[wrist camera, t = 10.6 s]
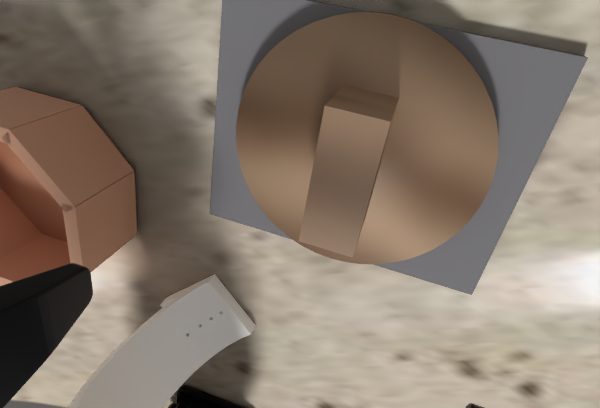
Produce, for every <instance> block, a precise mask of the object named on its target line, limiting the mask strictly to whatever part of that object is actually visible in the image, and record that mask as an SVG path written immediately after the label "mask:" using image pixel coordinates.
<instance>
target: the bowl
mask: <svg viewBox="0 0 600 408" xmlns="http://www.w3.org/2000/svg"><path fill="white" fill-rule="evenodd" d="M135 235H137V219H136V196H135V174H134V170H133V169H132V167H131V166H130V165H129V164H128V162H127V161H126V160H125V159H124V157H123V156H122V155H121V154H120V152H119V150H118V149H117V147H116V146H115V145H114V143H113V142H112V140H111V139H110V138H109V137H108V136H107V134H106V133H105V132H104V131H103V130H102V129H101V128H100V127H99V126H98V125H97V123H96V122H95V121H94V120H93V118H92V117H91V116H90V115H89V113H88V112H87V111H86V110H85V108H84V107H83V106H82V105H80V104H77V103H73V102H69V101H66V100H62V99H58V98H55V97H51V96H47V95H44V94H40V93H37V92H33V91H29V90H26V89H22V88H18V87H12V88H8V89H3V90H0V286H2V285H5V284H8V283H11V282H14V281H17V280H21V279H24V278H27V277H30V276H33V275H36V274H39V273H42V272H45V271H48V270H51V269H54V268H57V267H61V266H64V265H67V264H70V263H76V264H79V265H82V266H84V267H87V268H88V269H89V270H90V272H92V271H93V270H94V269H95V268H97V267H98V266H99V265H100V264H101V263H103V262H104V261H105V260H106V259H108V258H109V257H110V256H111V255H112V254H114V253H115V252H116V251H117V250H118V249H120V248H121V247H122V246H123V245H125V244H126V243H127V242H128V241H129V240H131V239H132V238H133V237H134V236H135Z"/></svg>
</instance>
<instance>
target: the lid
mask: <svg viewBox="0 0 600 408" xmlns="http://www.w3.org/2000/svg"><path fill="white" fill-rule="evenodd" d="M498 143H499V137H498V128H497V120H496V116H495V112H494V109H493V105H492V102H491V99H490V97H489V95H488V93H487V90H486V88H485V86H484V83H483V81H482V80H481V78H480V76H479V75H478V73H477V72H476V70H475V68H474V67H473V65H472V64H471V63H470V62H469V61H468V59H467V58H466V57H465V56H464V55H463V54H462V52H461V51H460V50H459V49H457V48H456V47H455V46H454V45H453V44H452V43H450V42H449V41H448V40H447V39H446V38H444V37H443V36H441V35H440V34H438V33H437V32H435V31H433V30H432V29H430V28H429V27H426V26H424V25H422V24H420V23H417V22H415V21H413V20H411V19H407V18H403V17H400V16H396V15H392V14H385V13H377V12H353V13H347V14H341V15H335V16H331V17H328V18H325V19H322V20H319V21H316V22H313V23H311V24H309V25H307V26H304V27H302V28H300V29H298V30H296V31H295V32H293V33H292V34H290V35H289V36H287V37H286V38H284V39H283V40H282V41H280V42H279V43H278V44H277V45H276V46H275V47H274V48H273V49H272V50H271V51H269V52H268V54H267V55H266V56H265V57H264V58H263V60H262V61H261V62H260V63H259V64H258V66H257V68H256V69H255V71H254V72H253V74H252V76H251V77H250V79H249V81H248V83H247V86H246V88H245V90H244V92H243V95H242V99H241V102H240V105H239V109H238V116H237V122H236V145H237V155H238V159H239V163H240V168H241V171H242V174H243V176H244V179H245V182H246V184H247V186H248V188H249V190H250V192H251V194H252V196H253V198H254V199H255V201H256V202H257V204H258V205H259V207H260V208H261V210H262V211H263V212H264V213H265V214H266V216H267V217H268V218H269V219H270V220H271V221H272V222H273V223H274V224H275V225H276V226H277V227H278V228H279V229H280V230H281V231H282V232H284V233H285V234H286V235H287V236H289V237H290V238H291V239H293V240H294V241H296V242H297V243H299V244H301V245H302V246H304V247H306V248H308V249H310V250H312V251H314V252H316V253H318V254H321V255H324V256H327V257H329V258H333V259H337V260H341V261H344V262H351V263H358V264H384V263H393V262H398V261H403V260H407V259H410V258H413V257H416V256H420V255H422V254H424V253H426V252H428V251H431V250H433V249H435V248H436V247H438V246H440V245H441V244H443V243H445V242H446V241H448V240H449V239H450V238H451V237H453V236H454V235H455V234H456V233H458V232H459V231H460V230H461V229H462V228H463V227H464V226H465V225H466V224H467V223H468V222H469V221H470V220H471V218H472V217H473V216H474V214H475V213H476V212H477V210H478V209H479V207H480V206H481V204H482V202H483V201H484V199H485V197H486V195H487V193H488V191H489V188H490V186H491V183H492V180H493V177H494V174H495V169H496V164H497V159H498Z"/></svg>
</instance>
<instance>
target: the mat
mask: <svg viewBox="0 0 600 408" xmlns="http://www.w3.org/2000/svg"><path fill="white" fill-rule="evenodd" d="M353 12H364V11H359V10H354V9H349V8H345V7H340V6H335V5H330V4H325V3H320V2H315V1H310V0H222V16H221V33H220V50H219V66H218V83H217V100H216V116H215V133H214V150H213V166H212V183H211V200H210V214H212V215H215V216H218V217H221V218H225V219H228V220H231V221H234V222H238V223H241V224H244V225H247V226H251V227H254V228H257V229H260V230H264V231H267V232H270V233H273V234H277V235H280V236H283V237H286V238H289V239H291V238H290V237H289V236H287V235H286V234H285V233H284V232H282V231H281V230H280V229H279V228H278V227H277V226H276V225H275V224H274V223H273V222H272V221H271V220H270V219H269V218H268V217H267V216H266V214H265V213H264V212H263V211H262V210H261V208H260V207H259V205H258V204H257V202H256V201H255V199H254V198H253V196H252V194H251V192H250V190H249V188H248V186H247V184H246V182H245V179H244V176H243V174H242V171H241V168H240V163H239V159H238V155H237V145H236V122H237V116H238V109H239V105H240V102H241V99H242V95H243V92H244V90H245V88H246V86H247V83H248V81H249V79H250V77H251V76H252V74H253V72H254V71H255V69H256V68H257V66H258V64H259V63H260V62H261V61H262V60H263V58H264V57H265V56H266V55H267V54H268V52H269V51H271V50H272V49H273V48H274V47H275V46H276V45H277V44H278V43H279V42H280V41H282V40H283V39H284V38H286V37H287V36H289V35H290V34H292V33H293V32H295V31H296V30H298V29H300V28H302V27H304V26H307V25H309V24H311V23H313V22H316V21H319V20H322V19H325V18H328V17H331V16H335V15H341V14H347V13H353ZM417 23H418V22H417ZM420 24H422V25H424V26H426V27H429V28H430V29H432V30H433V31H435V32H437V33H438V34H440V35H441V36H443V37H444V38H446V39H447V40H448V41H449V42H450V43H452V44H453V45H454V46H455V47H456V48H457V49H459V50H460V51H461V52H462V54H463V55H464V56H465V57H466V58H467V59H468V61H469V62H470V63H471V64H472V65H473V67H474V68H475V70H476V72H477V73H478V75H479V76H480V78H481V80H482V81H483V83H484V86H485V88H486V90H487V93H488V95H489V97H490V99H491V102H492V105H493V109H494V112H495V116H496V120H497V128H498V137H499V143H498V159H497V164H496V169H495V174H494V177H493V180H492V183H491V186H490V188H489V191H488V193H487V195H486V197H485V199H484V201H483V202H482V204H481V206H480V207H479V209H478V210H477V212H476V213H475V214H474V216H473V217H472V218H471V220H470V221H469V222H468V223H467V224H466V225H465V226H464V227H463V228H462V229H461V230H460V231H459V232H458V233H456V234H455V235H454V236H453V237H451V238H450V239H449V240H448V241H446V242H445V243H443V244H441V245H440V246H438V247H436V248H435V249H433V250H431V251H428V252H426V253H424V254H422V255H420V256H416V257H413V258H410V259H407V260H403V261H398V262H393V263H384V264H374V265H377V266H380V267H383V268H387V269H390V270H393V271H396V272H400V273H403V274H406V275H409V276H413V277H416V278H419V279H422V280H425V281H429V282H432V283H435V284H438V285H442V286H445V287H448V288H451V289H455V290H458V291H461V292H464V293H468V294H471V295H472V293H473V291H474V289H475V287H476V285H477V283H478V281H479V279H480V277H481V275H482V273H483V271H484V269H485V267H486V265H487V263H488V261H489V259H490V257H491V255H492V253H493V251H494V249H495V246H496V244H497V242H498V240H499V238H500V236H501V234H502V232H503V230H504V228H505V226H506V224H507V222H508V220H509V218H510V216H511V214H512V212H513V210H514V208H515V206H516V204H517V202H518V199H519V197H520V195H521V193H522V191H523V189H524V187H525V185H526V183H527V181H528V179H529V177H530V175H531V173H532V171H533V169H534V167H535V165H536V163H537V161H538V159H539V157H540V155H541V153H542V150H543V148H544V146H545V144H546V142H547V140H548V138H549V136H550V134H551V132H552V130H553V128H554V126H555V124H556V122H557V120H558V118H559V116H560V114H561V112H562V110H563V108H564V106H565V104H566V101H567V99H568V97H569V95H570V93H571V91H572V89H573V87H574V85H575V83H576V81H577V79H578V77H579V75H580V73H581V71H582V69H583V67H584V65H585V63H586V61H587V59H588V58H587V57H585V56H581V55H576V54H571V53H566V52H561V51H556V50H551V49H546V48H541V47H536V46H532V45H527V44H522V43H517V42H512V41H507V40H502V39H497V38H492V37H487V36H482V35H477V34H472V33H468V32H463V31H458V30H453V29H448V28H443V27H438V26H433V25H428V24H423V23H420Z"/></svg>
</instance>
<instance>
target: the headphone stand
mask: <svg viewBox="0 0 600 408" xmlns="http://www.w3.org/2000/svg"><path fill="white" fill-rule="evenodd" d="M160 306H161V307H162V309H160V310H159V311H158V312H157V313H155V314H154V315H153V316H152V317H150V318H149V319H148V320H147V321H146V322H145V323H143V324H142V325H141V326H140V327H139V328H138V329H137V330H135V331H134V332H133V333H132V334H131V335H130V336H129V337H128V338H127V339H126V340H125V341H124V342H123V343H122V344H121V345H120V346H118V347H117V348H116V349H115V350H114V351H113V353H112V354H111V355H110V356H109V357H108V358H107V359H106V360H105V361H104V362H103V363H102V364H101V365H100V366H99V367H98V369H97V370H96V371H95V372H94V373H93V374H92V376H91V377H90V378H89V379H88V380H87V382H86V383H85V384H84V385H83V387H82V388H81V389H80V391H79V392H78V393H77V395H76V396H75V398H74V399H73V400H72V402H71V404H70V405H69V407H68V408H163V407H164V406H165V404H166V403H167V402H168V401H169V399H170V398H171V397H172V396H173V394H174V393H175V392H176V391H177V390H178V389H179V387H180V386H181V385H182V384H183V383H184V382H185V381H186V380H187V379H188V378H189V377H190V376H191V375H192V374H193V373H194V372H195V371H196V370H197V369H198V368H200V367H201V366H202V365H203V364H204V363H205V362H207V361H208V360H209V359H210V358H212V357H213V356H214V355H215V354H217V353H218V352H220V351H221V350H222V349H224V348H226V347H227V346H229V345H230V344H232V343H234V342H236V341H237V340H239V339H242V338H244V337H246V336H248V335H251V334H252V332H253V330H254V328H255V326H256V325H255V324H254V323H253V321H252V320H251V319H250V318H249V316H248V315H247V314H246V313H245V311H244V310H243V309H242V308H241V306H240V305H239V304H238V303H237V301H236V300H235V299H234V298H233V296H232V295H231V294H230V293H229V291H228V290H227V289H226V288H225V286H224V285H223V284H222V282H221V281H220V280H219V279H218V277H217V276H216V275H215V274H214V275H212V276H210V277H208V278H206V279H203V280H201V281H199V282H197V283H195V284H193V285H191V286H189V287H187V288H185V289H183V290H181V291H179V292H176V293H174V294H172V295H170V296H168V297H166V298H165V300H164V301H163V302H162V303H161V304H160Z"/></svg>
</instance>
